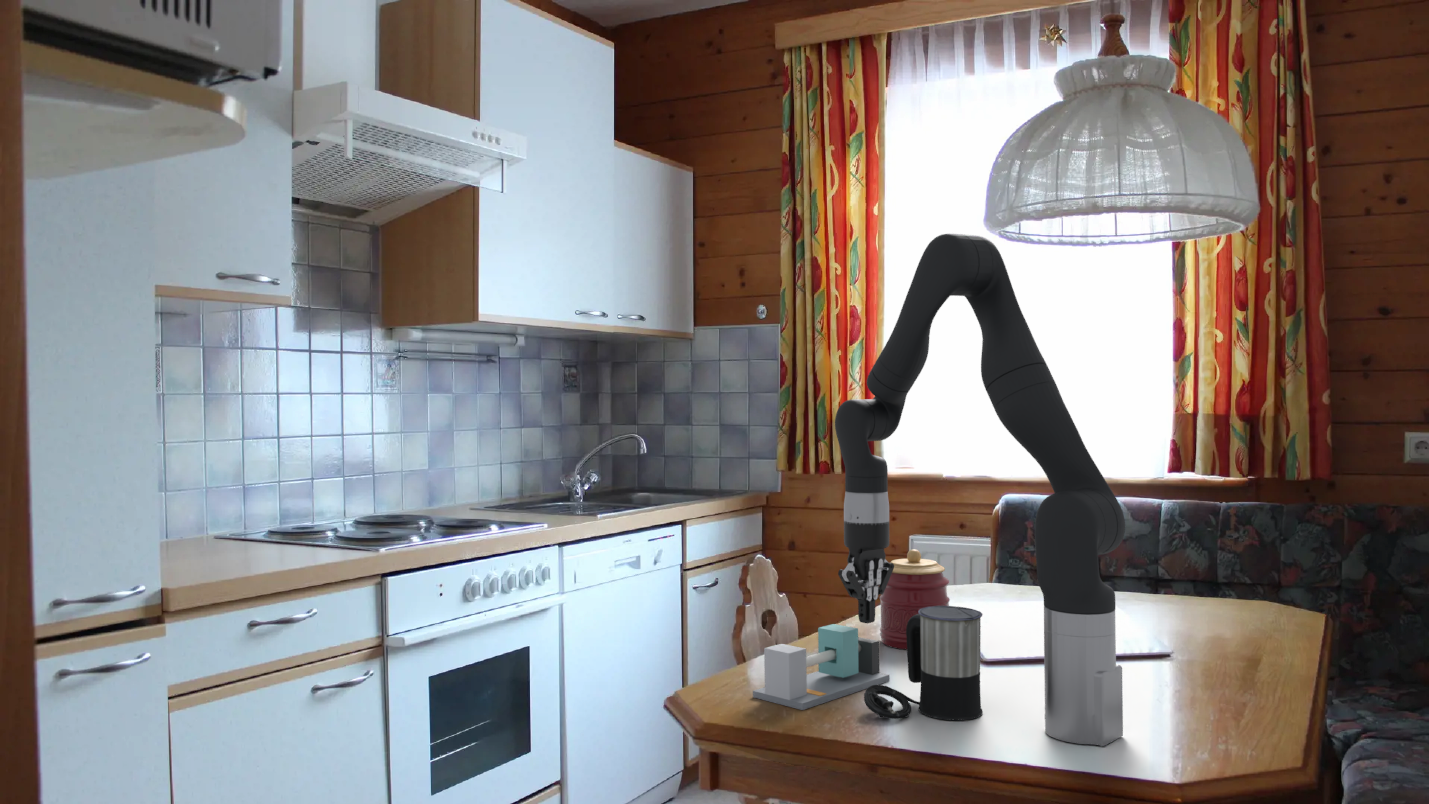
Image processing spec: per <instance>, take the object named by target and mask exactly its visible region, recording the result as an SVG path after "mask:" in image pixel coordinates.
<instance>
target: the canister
mask: <svg viewBox="0 0 1429 804" xmlns="http://www.w3.org/2000/svg"><path fill="white" fill-rule="evenodd" d="M890 563H893V564H894V569H893V572H892V574H891V576H890V579H889V581H888V584H887V586H886V588H885V591H884V593H883V594H882V595H881V594H880V596H879V600H880V629H879V631H880V633H879V636H880V638H881V639H880V640H881V643H882V644H883V645H885V646H887V647H890V648H895V649H899V650H900V649H901V650H907V638H906V627H907V623H908V621H909V619H910V618H911V617H912V616H914V615H916V614H919V613H918V611H919V610H920V609H922V608H926V607H933V606H950V600H951V599H950V597H949V596H948V591H947V590H948V589H947V587H948V586H949V584H950V582H951V581H950V579H948V578H947V577H946V576H944V573H943V572H945V571H946V568H945V567H944V566H942V565H941V564H939V563H938V562H937V561H935V560H933V559H927V558H922V555H921V552H920V551H919V550H918V549H917V548H916V549H913V548H911V549H910V550H908V552H907V554H906V558H898V559H893V560H891V561H890Z"/></svg>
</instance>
